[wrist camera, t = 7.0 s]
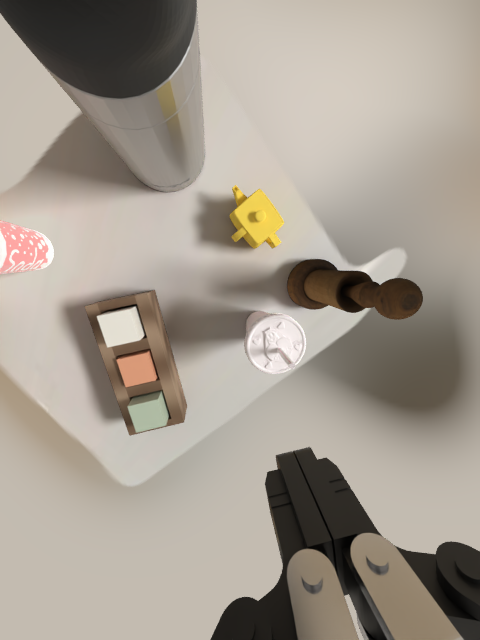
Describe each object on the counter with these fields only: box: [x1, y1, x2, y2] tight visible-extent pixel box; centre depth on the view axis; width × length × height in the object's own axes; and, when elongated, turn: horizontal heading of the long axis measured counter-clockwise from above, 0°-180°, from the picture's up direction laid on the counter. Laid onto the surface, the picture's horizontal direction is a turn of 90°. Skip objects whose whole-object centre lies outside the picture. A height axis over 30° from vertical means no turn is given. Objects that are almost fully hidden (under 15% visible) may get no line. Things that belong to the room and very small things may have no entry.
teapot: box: [230, 185, 284, 249], centre depth 30 cm, size 8×6×5 cm
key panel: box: [85, 290, 187, 435], centre depth 32 cm, size 17×7×4 cm, turn 12°
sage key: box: [127, 390, 170, 433], centre depth 31 cm, size 4×4×3 cm
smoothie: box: [244, 311, 306, 374], centre depth 28 cm, size 6×6×14 cm
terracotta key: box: [117, 348, 158, 387], centre depth 31 cm, size 4×4×3 cm
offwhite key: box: [97, 305, 146, 348], centre depth 29 cm, size 4×4×3 cm
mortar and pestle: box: [287, 259, 423, 319], centre depth 26 cm, size 7×6×18 cm
